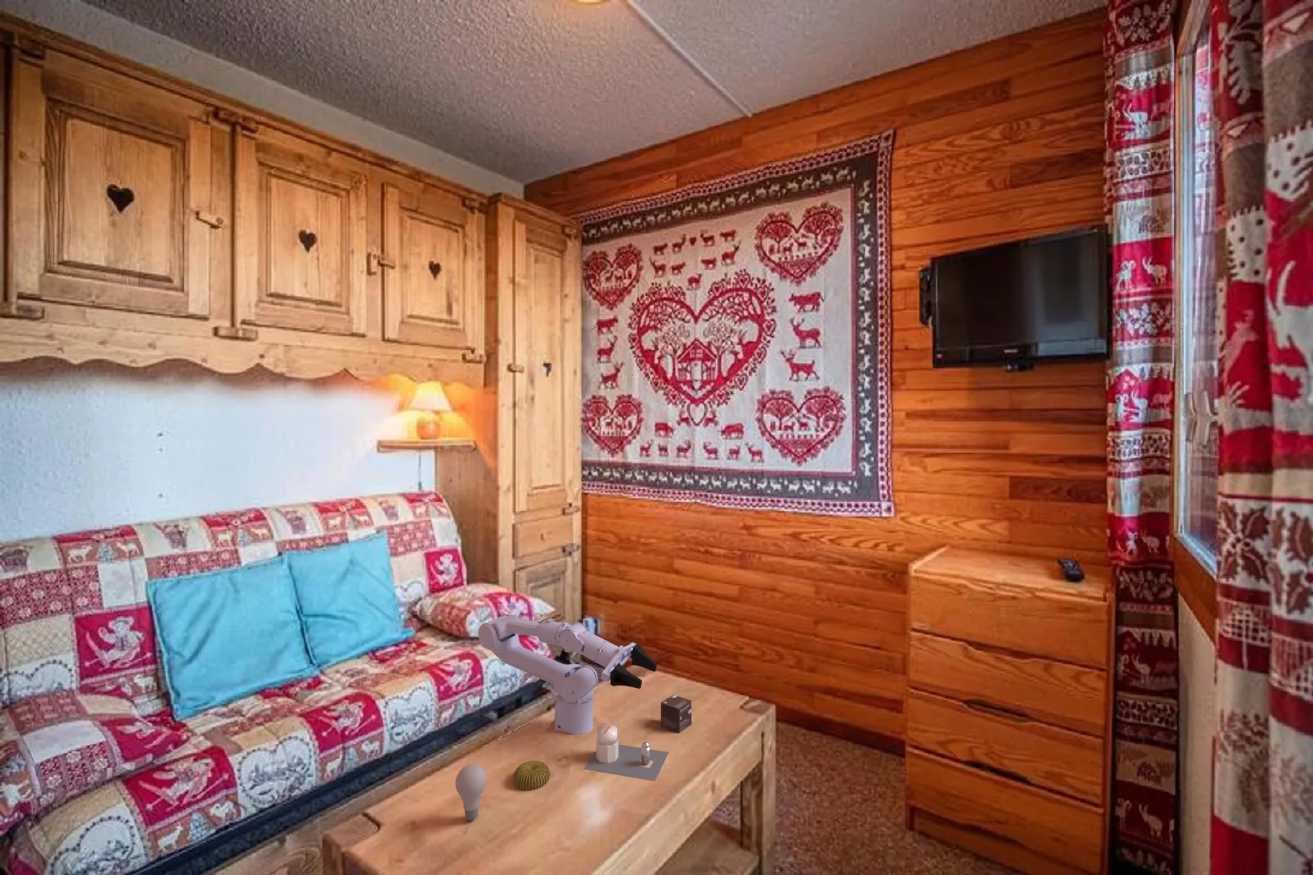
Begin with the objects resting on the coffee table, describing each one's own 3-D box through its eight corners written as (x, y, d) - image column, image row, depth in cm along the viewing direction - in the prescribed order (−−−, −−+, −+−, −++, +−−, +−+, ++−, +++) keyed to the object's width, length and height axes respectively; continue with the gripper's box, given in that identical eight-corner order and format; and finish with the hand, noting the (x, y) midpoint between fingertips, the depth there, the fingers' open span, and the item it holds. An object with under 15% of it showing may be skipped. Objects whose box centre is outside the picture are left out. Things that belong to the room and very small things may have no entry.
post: (640, 763, 138) (640, 743, 138) (642, 758, 140) (642, 739, 140) (648, 764, 138) (648, 744, 137) (651, 759, 140) (650, 740, 139)
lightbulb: (476, 806, 125) (475, 754, 125) (493, 818, 121) (493, 764, 121) (449, 821, 120) (449, 767, 120) (467, 834, 116) (466, 778, 116)
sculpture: (525, 782, 127) (506, 766, 133) (525, 801, 127) (506, 784, 133) (557, 767, 132) (537, 752, 138) (557, 784, 133) (537, 770, 138)
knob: (594, 761, 140) (593, 732, 140) (601, 750, 144) (601, 722, 144) (613, 764, 138) (613, 735, 138) (620, 753, 143) (620, 725, 143)
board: (583, 773, 137) (583, 768, 137) (602, 745, 148) (602, 742, 148) (655, 785, 132) (655, 781, 132) (668, 756, 144) (668, 752, 143)
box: (678, 737, 152) (678, 709, 152) (659, 730, 156) (659, 702, 156) (692, 727, 157) (692, 700, 157) (673, 721, 161) (673, 694, 160)
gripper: (588, 653, 144) (636, 679, 139) (619, 625, 157) (665, 647, 151) (584, 677, 146) (631, 703, 141) (616, 647, 159) (660, 670, 153)
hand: (648, 676), depth 146 cm, fingers open, 7 cm apart
